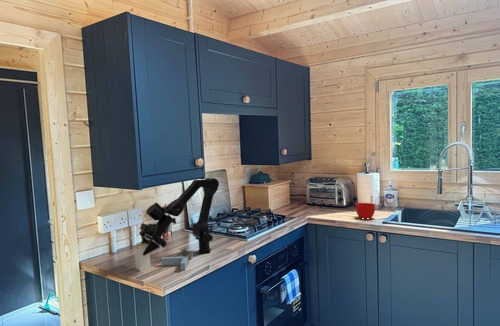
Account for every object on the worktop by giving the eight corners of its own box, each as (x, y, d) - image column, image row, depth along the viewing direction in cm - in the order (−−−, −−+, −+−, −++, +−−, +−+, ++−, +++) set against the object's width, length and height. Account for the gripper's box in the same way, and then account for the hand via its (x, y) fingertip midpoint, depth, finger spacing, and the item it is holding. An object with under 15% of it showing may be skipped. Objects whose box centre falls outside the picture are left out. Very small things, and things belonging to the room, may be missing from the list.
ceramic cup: (371, 215, 261) (371, 201, 260) (377, 220, 244) (377, 206, 243) (353, 215, 262) (353, 202, 261) (357, 220, 245) (357, 206, 245)
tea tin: (146, 265, 171) (144, 242, 170) (150, 268, 167) (149, 245, 166) (135, 268, 167) (134, 245, 166) (140, 271, 163) (138, 247, 162)
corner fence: (162, 264, 171) (162, 257, 171) (188, 263, 171) (188, 256, 171) (157, 271, 162) (157, 264, 162) (185, 270, 162) (184, 263, 162)
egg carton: (186, 256, 183) (185, 248, 183) (195, 259, 178) (195, 251, 178) (168, 261, 175) (168, 253, 175) (177, 265, 170) (177, 256, 170)
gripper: (141, 213, 175) (120, 240, 169) (158, 219, 161) (136, 248, 155) (157, 226, 181) (137, 252, 175) (175, 233, 167) (154, 262, 160)
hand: (141, 253), depth 166 cm, fingers closed on tea tin, 5 cm apart
